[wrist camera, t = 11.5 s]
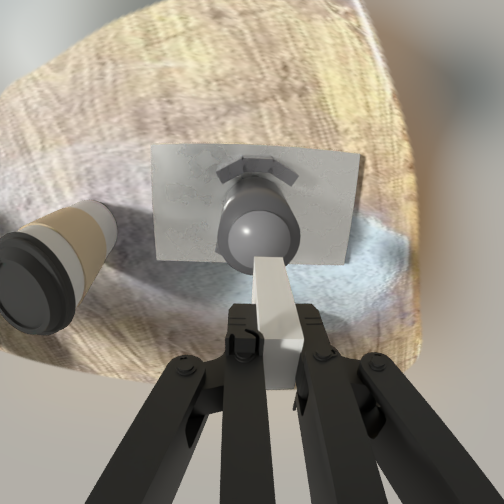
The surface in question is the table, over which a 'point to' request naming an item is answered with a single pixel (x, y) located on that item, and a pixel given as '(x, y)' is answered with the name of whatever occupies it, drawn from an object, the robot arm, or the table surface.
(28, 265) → the coffee cup
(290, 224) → the grey domed cylinder
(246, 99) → the table surface
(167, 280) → the table surface
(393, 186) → the table surface
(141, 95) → the table surface
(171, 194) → the barrel plate
